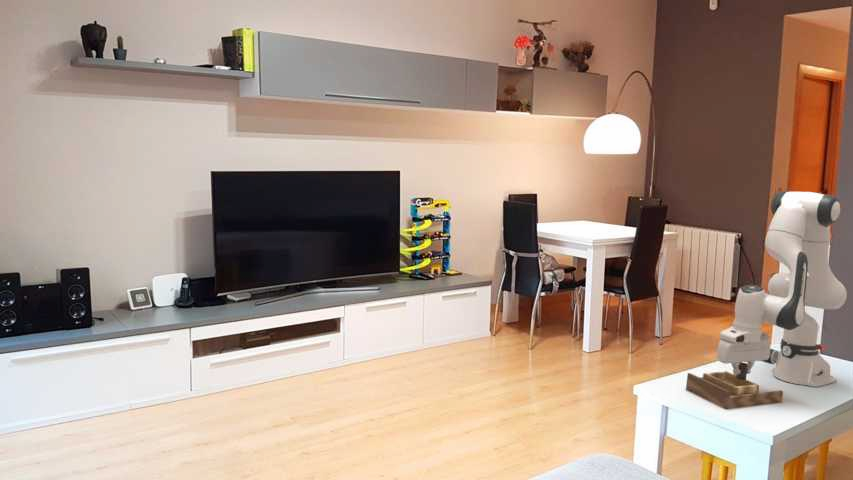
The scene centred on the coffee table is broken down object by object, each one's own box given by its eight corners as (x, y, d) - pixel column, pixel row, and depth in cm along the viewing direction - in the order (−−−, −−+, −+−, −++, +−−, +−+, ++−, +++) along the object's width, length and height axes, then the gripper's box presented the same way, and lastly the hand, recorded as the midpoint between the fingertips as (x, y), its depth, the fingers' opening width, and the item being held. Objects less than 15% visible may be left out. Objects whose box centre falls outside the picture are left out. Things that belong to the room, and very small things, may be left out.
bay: (739, 387, 250) (741, 368, 249) (781, 405, 233) (783, 385, 232) (685, 392, 241) (687, 373, 240) (725, 412, 224) (727, 391, 223)
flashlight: (735, 354, 291) (736, 341, 290) (742, 352, 294) (743, 339, 294) (771, 364, 279) (772, 351, 278) (778, 362, 282) (780, 349, 281)
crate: (726, 387, 245) (729, 356, 243) (759, 402, 232) (763, 370, 230) (701, 390, 241) (705, 359, 239) (733, 405, 228) (737, 373, 226)
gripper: (762, 329, 241) (757, 368, 243) (715, 332, 234) (711, 372, 236) (777, 334, 236) (772, 374, 238) (730, 338, 228) (725, 379, 230)
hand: (741, 373), depth 237 cm, fingers closed on crate, 3 cm apart
